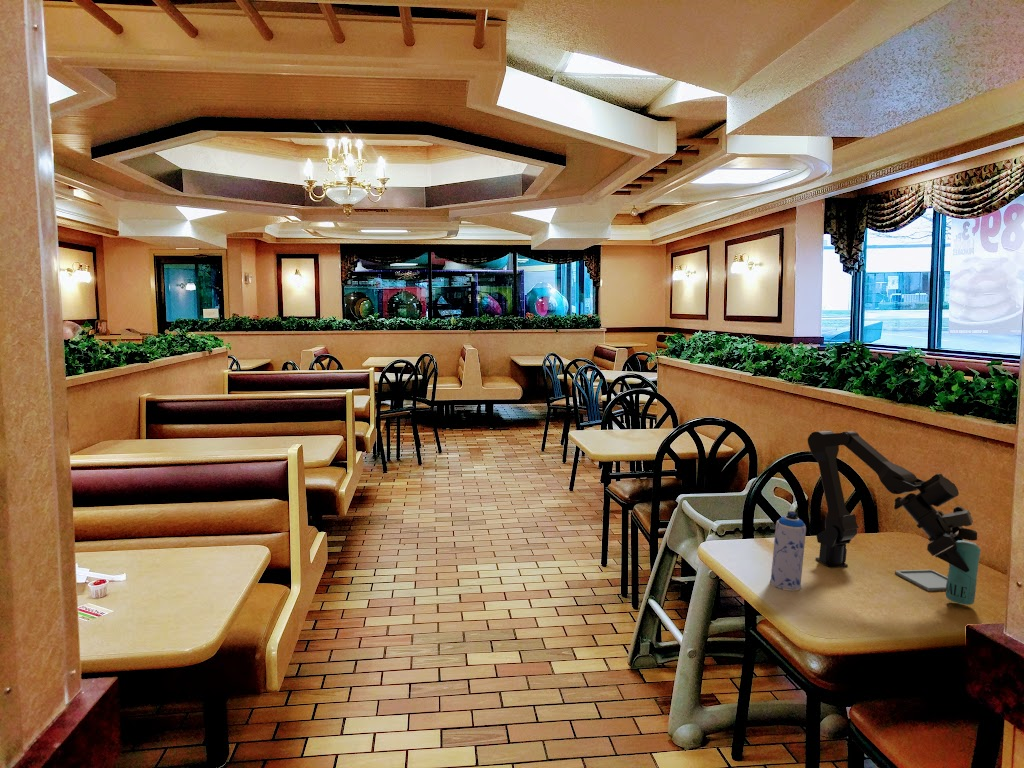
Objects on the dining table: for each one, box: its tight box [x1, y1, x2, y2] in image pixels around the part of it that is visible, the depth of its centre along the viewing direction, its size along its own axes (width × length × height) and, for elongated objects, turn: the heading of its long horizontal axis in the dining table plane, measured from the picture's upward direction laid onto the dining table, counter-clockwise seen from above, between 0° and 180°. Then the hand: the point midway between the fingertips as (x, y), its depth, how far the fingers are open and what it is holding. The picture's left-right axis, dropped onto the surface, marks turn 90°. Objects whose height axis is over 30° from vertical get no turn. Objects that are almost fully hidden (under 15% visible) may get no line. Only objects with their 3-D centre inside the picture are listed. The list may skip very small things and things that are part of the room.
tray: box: [894, 569, 948, 592], centre depth 191 cm, size 12×12×1 cm
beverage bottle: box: [944, 527, 982, 606], centre depth 174 cm, size 6×7×20 cm
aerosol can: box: [769, 510, 807, 592], centre depth 182 cm, size 8×8×20 cm
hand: (970, 566), depth 173 cm, fingers open, 9 cm apart
